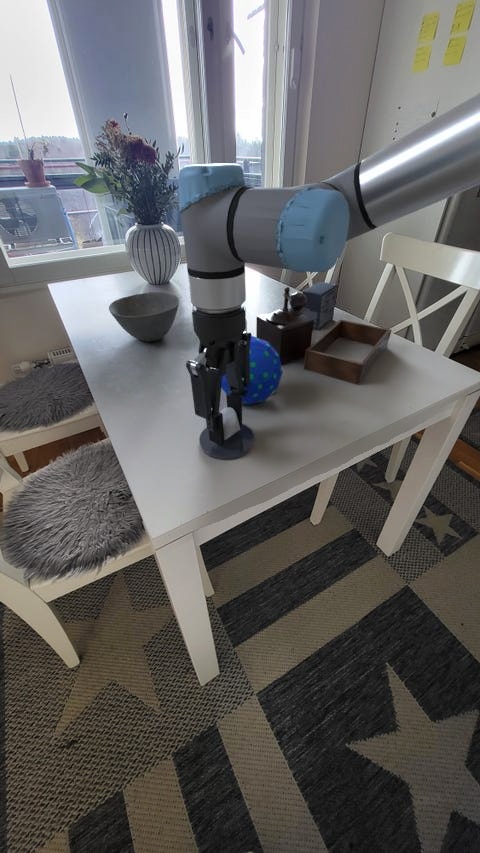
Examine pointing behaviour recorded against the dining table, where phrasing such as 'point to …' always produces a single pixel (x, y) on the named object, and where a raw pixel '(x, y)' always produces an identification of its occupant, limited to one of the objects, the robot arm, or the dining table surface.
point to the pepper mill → (287, 328)
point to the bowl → (146, 314)
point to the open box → (341, 366)
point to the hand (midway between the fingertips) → (226, 433)
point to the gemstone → (229, 422)
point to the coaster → (228, 444)
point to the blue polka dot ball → (260, 372)
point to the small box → (320, 303)
